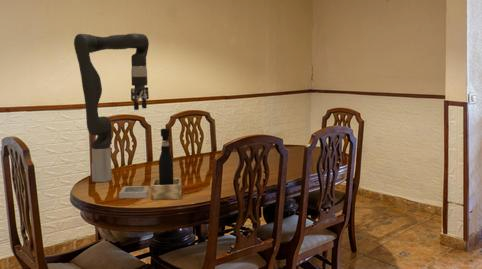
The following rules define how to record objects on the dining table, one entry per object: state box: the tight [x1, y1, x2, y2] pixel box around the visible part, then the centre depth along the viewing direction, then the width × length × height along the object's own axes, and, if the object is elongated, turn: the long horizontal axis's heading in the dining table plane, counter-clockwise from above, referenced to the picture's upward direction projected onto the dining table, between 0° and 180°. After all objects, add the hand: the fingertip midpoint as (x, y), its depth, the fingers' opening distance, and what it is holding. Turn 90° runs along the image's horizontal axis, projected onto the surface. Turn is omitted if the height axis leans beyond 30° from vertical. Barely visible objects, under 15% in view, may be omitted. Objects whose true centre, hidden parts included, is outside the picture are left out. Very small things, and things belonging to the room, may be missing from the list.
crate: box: [150, 177, 182, 201], centre depth 216 cm, size 13×13×6 cm
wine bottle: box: [158, 128, 174, 185], centre depth 215 cm, size 6×6×30 cm
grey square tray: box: [118, 185, 150, 200], centre depth 218 cm, size 12×12×2 cm
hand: (140, 109), depth 231 cm, fingers open, 8 cm apart
